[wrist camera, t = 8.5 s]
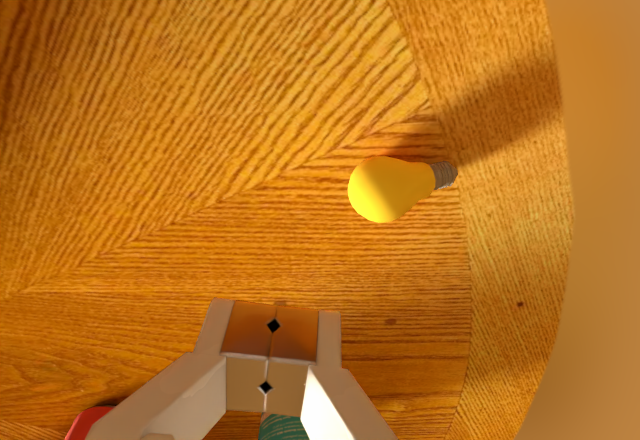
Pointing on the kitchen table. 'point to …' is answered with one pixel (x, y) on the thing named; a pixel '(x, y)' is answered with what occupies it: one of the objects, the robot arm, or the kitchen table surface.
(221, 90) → the kitchen table surface
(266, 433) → the pill bottle
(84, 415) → the beer can
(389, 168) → the light bulb
